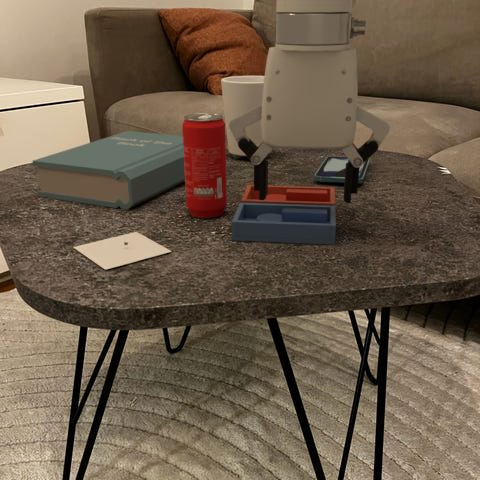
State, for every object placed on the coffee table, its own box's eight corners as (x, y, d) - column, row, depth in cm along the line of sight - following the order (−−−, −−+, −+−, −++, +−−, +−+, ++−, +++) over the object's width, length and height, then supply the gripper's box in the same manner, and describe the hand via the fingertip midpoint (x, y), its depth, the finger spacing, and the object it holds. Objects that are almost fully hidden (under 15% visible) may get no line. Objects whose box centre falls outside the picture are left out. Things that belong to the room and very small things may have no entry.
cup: (267, 164, 99) (269, 83, 93) (213, 160, 102) (211, 81, 96) (285, 152, 107) (287, 76, 101) (234, 148, 110) (233, 74, 104)
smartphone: (370, 158, 99) (363, 179, 86) (370, 164, 99) (362, 186, 86) (326, 155, 101) (312, 176, 88) (326, 161, 101) (312, 182, 88)
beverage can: (180, 216, 75) (174, 118, 70) (197, 205, 80) (193, 112, 74) (217, 221, 74) (214, 121, 68) (232, 209, 78) (231, 114, 72)
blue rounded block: (325, 224, 71) (327, 206, 70) (325, 234, 68) (327, 216, 67) (258, 222, 72) (258, 204, 71) (255, 231, 69) (255, 213, 68)
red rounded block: (326, 204, 78) (327, 188, 77) (326, 212, 75) (327, 195, 74) (264, 202, 79) (264, 186, 78) (261, 210, 76) (262, 193, 75)
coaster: (72, 247, 66) (71, 240, 66) (136, 231, 70) (135, 225, 70) (105, 269, 60) (104, 262, 60) (171, 251, 65) (171, 244, 64)
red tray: (333, 204, 80) (334, 187, 79) (333, 221, 73) (335, 203, 72) (247, 201, 81) (247, 184, 80) (240, 218, 75) (240, 200, 74)
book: (129, 161, 102) (127, 131, 99) (212, 170, 96) (211, 138, 93) (38, 196, 84) (32, 160, 81) (133, 210, 78) (129, 172, 75)
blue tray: (334, 223, 73) (335, 205, 72) (334, 245, 66) (336, 225, 65) (239, 220, 74) (239, 202, 73) (231, 240, 68) (231, 221, 67)
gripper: (396, 31, 62) (378, 191, 70) (233, 31, 64) (235, 187, 72) (404, 35, 56) (384, 211, 64) (222, 35, 58) (225, 205, 66)
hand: (304, 198), depth 68 cm, fingers open, 9 cm apart
